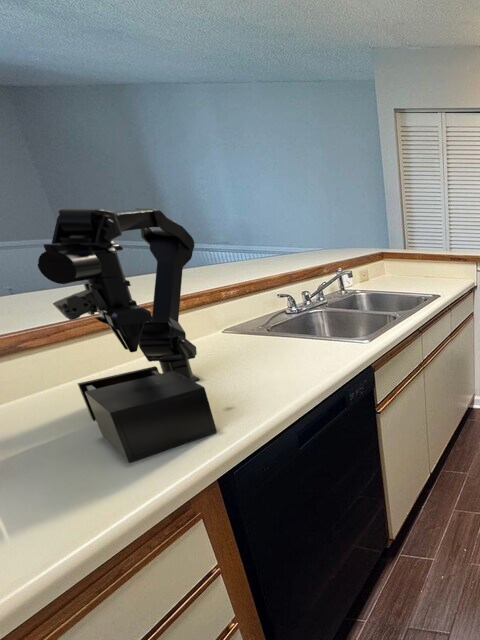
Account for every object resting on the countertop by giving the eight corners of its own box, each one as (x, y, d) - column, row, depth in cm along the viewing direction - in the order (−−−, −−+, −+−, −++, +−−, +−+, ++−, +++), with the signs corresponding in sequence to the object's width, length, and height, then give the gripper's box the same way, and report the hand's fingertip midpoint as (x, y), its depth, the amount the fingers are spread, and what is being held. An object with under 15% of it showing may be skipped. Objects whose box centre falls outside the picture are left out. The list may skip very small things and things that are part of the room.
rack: (90, 417, 85) (75, 381, 82) (163, 397, 95) (153, 365, 92) (113, 439, 77) (98, 400, 74) (190, 415, 87) (180, 380, 84)
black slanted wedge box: (103, 437, 80) (84, 391, 76) (186, 412, 90) (173, 370, 86) (129, 463, 72) (109, 413, 68) (217, 432, 82) (204, 387, 79)
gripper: (37, 276, 83) (68, 351, 89) (61, 286, 73) (93, 370, 79) (111, 270, 92) (134, 339, 97) (141, 279, 82) (164, 355, 88)
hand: (131, 350), depth 90 cm, fingers open, 3 cm apart
